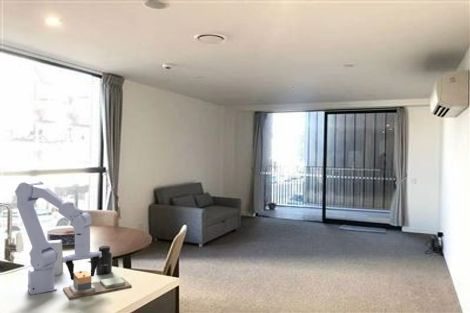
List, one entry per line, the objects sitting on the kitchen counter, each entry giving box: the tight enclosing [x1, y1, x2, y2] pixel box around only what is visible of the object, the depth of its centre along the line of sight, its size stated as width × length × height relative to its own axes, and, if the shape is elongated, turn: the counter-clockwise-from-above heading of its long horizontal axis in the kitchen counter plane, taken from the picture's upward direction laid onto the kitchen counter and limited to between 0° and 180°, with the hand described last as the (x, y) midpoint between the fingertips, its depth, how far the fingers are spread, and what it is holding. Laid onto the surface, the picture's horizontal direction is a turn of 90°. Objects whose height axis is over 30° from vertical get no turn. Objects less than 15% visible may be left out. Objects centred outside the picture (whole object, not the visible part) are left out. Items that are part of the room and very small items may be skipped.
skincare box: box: [41, 239, 64, 276], centre depth 173 cm, size 8×6×15 cm
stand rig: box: [62, 276, 133, 300], centre depth 155 cm, size 24×12×2 cm, turn 125°
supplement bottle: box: [95, 245, 113, 276], centre depth 175 cm, size 7×7×12 cm
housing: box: [72, 270, 92, 291], centre depth 151 cm, size 5×8×5 cm, turn 35°
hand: (82, 277), depth 151 cm, fingers open, 7 cm apart
